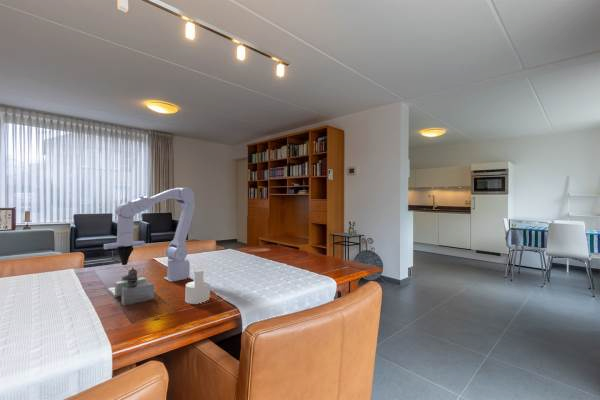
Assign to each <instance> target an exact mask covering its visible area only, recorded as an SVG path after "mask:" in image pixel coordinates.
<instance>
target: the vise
mask: <svg viewBox="0 0 600 400" xmlns="http://www.w3.org/2000/svg"><path fill="white" fill-rule="evenodd" d="M107 292H109V293H110V294H111V296H113V297H114V298H119V297H120V298H121V301H120V303H121V305H122V306H124V307H125V306H130V305H134V304H138V303H142V302H147V301H150V300H154V297H155V284H154V283H153V282H152V281H150V282H146V283H144V284H138V285H133V286H128V287H122V295H118V296H117V295H116V294H115V286H114V287H113V286H112V287H108V288H107Z"/></svg>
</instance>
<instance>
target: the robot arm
mask: <svg viewBox="0 0 600 400" xmlns="http://www.w3.org/2000/svg"><path fill="white" fill-rule="evenodd" d="M194 196H195V193H194V192H193V190H192V189H191V188H190V187H174V188H170V189H167V190H164V191H161V192H160V193H157V194H155V195H152V196H150V197H148V196H146V195H145V196H144V195H140V196H138V197H139V198H137V199H134V200H128V201H127V203H121V204H119V205H118V206H117V207H116V209H115V214H116V215H117V223H116V224H117V225H116V227H117V231H116V242H112V243H111V242H110V243H109V242H108V243H104V244H103V250H108V249H109V250H111V249H116V252H117V253H118V255H119V258H120V262H121V265H122V266H126V265H128V261H129V258H130V257H131V254H132V252H134V247H144V246H145V243H146V241H144V240H138V241H137V240H136V241H135V240H134V225H135V224H134V223H135V221H134V219H135V217H134V216H136V215H137V214H139V213H142V212H145V211H146V210H149V209H152V208H153V205H154V204H157V203H161V202H163V201H167V200H168V199H174V200H175V201H176V202H177V203H179V205H180V207H181V208H182V209H181V212H180V215H179V220H178V222H177V225H176V229H175V234H174V236H173V239H172V240H171V241H170V243H169V245H168V247H167V248H166V249H165V255H166V257H167V273H166V274H167V276H164V277H163V279H164V280H167V281H168V282H171V283H173V282H176V281H177V282H178V281H181V280H187V278H188V279H191V276H190V274H191V273H190V270H191V264H190V260H189V259H188V258H187V255H188V250H187V249H188V248H187V247H188V245H187V243H186V242H187V241H186V240H187V236H188V233H189V230H190V226H191V223H192V219H193V216H194V211H195V208H196V203H195V199H194V198H195V197H194Z"/></svg>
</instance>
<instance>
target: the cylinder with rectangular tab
mask: <svg viewBox="0 0 600 400" xmlns="http://www.w3.org/2000/svg"><path fill="white" fill-rule="evenodd" d="M184 292H185V293H184V294H185V295H184V299H185V300H184V301H185V302H186V304H190V305H191V304H192V305H198V304H199V303H200V304H203V303H202V302H204V303H206V302H205V301H207V300H209V298H210V299H211V282H210V281H208V280H204V268H203V265H194V266H193V281H191V282H190V281H189V282H187V283H185V291H184ZM209 301H210V300H209ZM207 302H208V301H207Z"/></svg>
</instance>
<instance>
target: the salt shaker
mask: <svg viewBox="0 0 600 400" xmlns="http://www.w3.org/2000/svg"><path fill="white" fill-rule="evenodd" d="M127 275H128V279H127V281H128V286H133V285H137V280H138V278H139V277H138V270H137V269H134V267H131V269H130V270H129V271H128V274H127ZM128 286H127V287H128Z"/></svg>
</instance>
